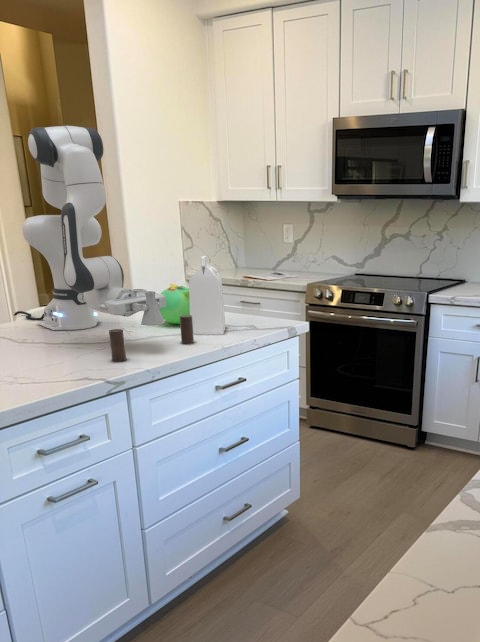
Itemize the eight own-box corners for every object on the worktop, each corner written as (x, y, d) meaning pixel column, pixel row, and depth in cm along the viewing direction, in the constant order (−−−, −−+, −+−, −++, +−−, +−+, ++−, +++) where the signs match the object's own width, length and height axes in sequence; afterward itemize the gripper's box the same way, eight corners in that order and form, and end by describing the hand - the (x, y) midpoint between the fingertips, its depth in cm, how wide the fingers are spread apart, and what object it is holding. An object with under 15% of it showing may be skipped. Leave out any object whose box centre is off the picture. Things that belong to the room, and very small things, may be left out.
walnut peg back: (179, 343, 203) (177, 316, 199) (187, 340, 206) (186, 314, 202) (187, 344, 201) (185, 317, 197) (196, 342, 204) (194, 315, 200)
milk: (194, 327, 226) (189, 255, 217) (225, 327, 227) (221, 255, 218) (190, 334, 215) (184, 258, 206) (223, 334, 216) (219, 258, 206)
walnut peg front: (109, 360, 181) (105, 330, 178) (120, 357, 184) (116, 328, 181) (118, 362, 179) (114, 332, 176) (129, 359, 182) (125, 330, 179)
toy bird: (168, 318, 242) (165, 280, 236) (209, 319, 240) (207, 281, 234) (151, 327, 225) (147, 287, 220) (195, 329, 223) (192, 288, 218)
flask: (136, 326, 186) (133, 293, 183) (147, 321, 193) (144, 289, 189) (158, 327, 185) (155, 294, 181) (168, 322, 192) (166, 290, 188)
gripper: (94, 296, 185) (124, 301, 178) (147, 288, 200) (176, 292, 193) (97, 316, 187) (126, 322, 180) (149, 307, 203) (178, 312, 196)
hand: (153, 306), depth 187 cm, fingers closed on flask, 3 cm apart
